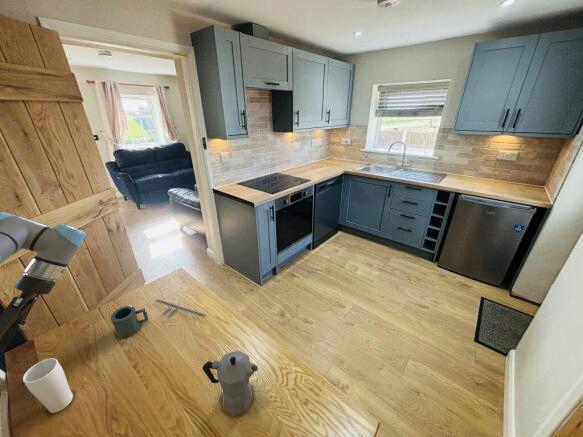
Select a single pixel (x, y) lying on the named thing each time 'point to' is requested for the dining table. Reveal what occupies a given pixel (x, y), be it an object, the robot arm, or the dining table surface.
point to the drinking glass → (49, 384)
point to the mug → (127, 321)
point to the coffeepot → (233, 380)
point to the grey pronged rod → (177, 306)
